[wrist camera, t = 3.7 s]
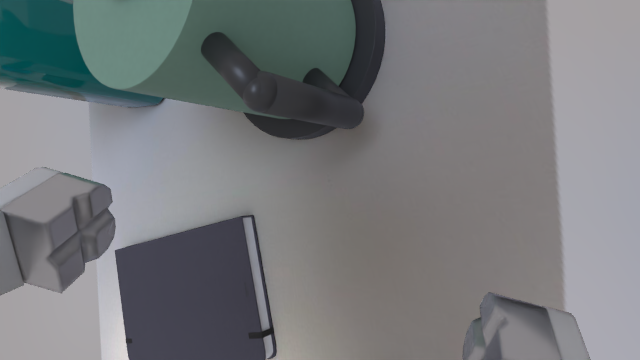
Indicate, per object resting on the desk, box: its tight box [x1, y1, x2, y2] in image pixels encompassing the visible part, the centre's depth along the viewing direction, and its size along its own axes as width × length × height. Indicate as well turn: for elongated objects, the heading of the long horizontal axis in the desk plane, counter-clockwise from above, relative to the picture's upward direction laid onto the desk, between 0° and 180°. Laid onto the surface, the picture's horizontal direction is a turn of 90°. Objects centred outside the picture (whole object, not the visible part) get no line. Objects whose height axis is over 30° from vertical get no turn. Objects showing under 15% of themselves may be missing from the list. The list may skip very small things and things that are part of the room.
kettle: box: [73, 0, 364, 129], centre depth 28 cm, size 22×12×15 cm, turn 49°
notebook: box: [115, 215, 276, 360], centre depth 44 cm, size 13×2×21 cm
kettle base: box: [243, 0, 385, 140], centre depth 35 cm, size 15×15×2 cm
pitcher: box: [0, 0, 163, 108], centre depth 40 cm, size 10×8×22 cm
